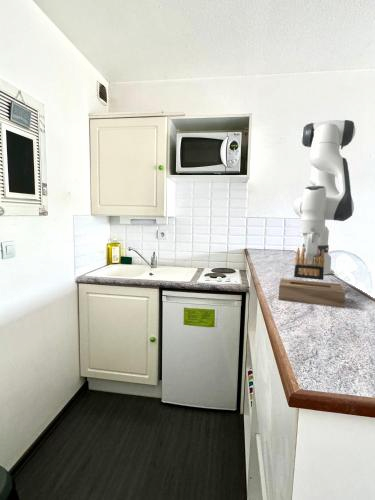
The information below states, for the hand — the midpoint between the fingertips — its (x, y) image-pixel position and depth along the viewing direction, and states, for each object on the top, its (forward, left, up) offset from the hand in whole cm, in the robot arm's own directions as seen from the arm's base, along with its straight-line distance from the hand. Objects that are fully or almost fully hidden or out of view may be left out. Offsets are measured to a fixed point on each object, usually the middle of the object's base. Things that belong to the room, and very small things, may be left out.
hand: (309, 263), depth 109 cm
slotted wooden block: (+14, 0, -10) cm, 17 cm away
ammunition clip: (0, 0, -6) cm, 6 cm away
